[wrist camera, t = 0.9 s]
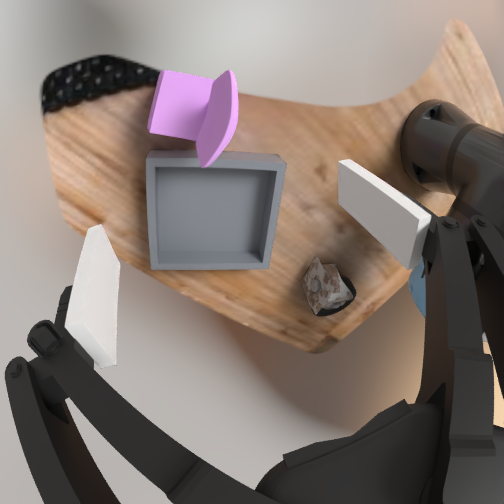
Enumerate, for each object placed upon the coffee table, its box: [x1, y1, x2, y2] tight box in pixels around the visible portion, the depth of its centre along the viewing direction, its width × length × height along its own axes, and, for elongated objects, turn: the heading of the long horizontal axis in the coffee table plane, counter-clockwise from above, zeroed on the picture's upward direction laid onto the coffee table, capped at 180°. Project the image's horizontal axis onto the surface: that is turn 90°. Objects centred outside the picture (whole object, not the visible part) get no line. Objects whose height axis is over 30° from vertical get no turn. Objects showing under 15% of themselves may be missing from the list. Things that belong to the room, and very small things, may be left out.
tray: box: [146, 150, 287, 270], centre depth 38 cm, size 16×15×4 cm
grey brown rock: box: [301, 256, 356, 316], centre depth 49 cm, size 7×11×10 cm
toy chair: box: [147, 70, 238, 168], centre depth 25 cm, size 8×9×15 cm
